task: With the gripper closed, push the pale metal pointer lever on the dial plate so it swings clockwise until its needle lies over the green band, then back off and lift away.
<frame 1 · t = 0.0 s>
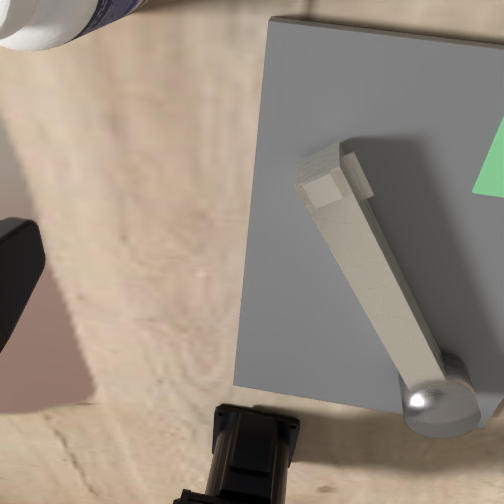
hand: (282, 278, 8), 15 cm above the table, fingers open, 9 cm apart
dial plate: (401, 266, 25), on the table
pointer: (393, 312, 23), point 3 cm above the table, hinge at 35.0°
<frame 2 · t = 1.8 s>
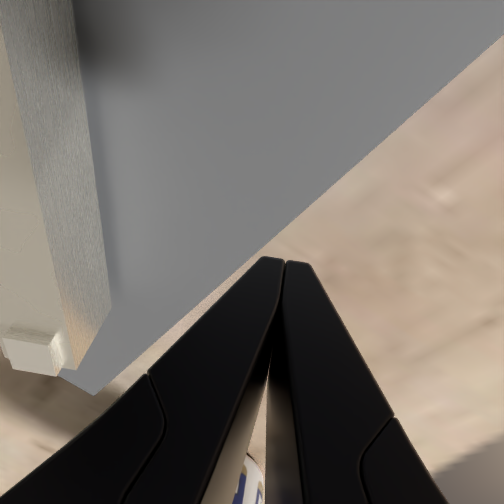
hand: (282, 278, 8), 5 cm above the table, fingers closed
pill bottle: (209, 463, 22), on the table
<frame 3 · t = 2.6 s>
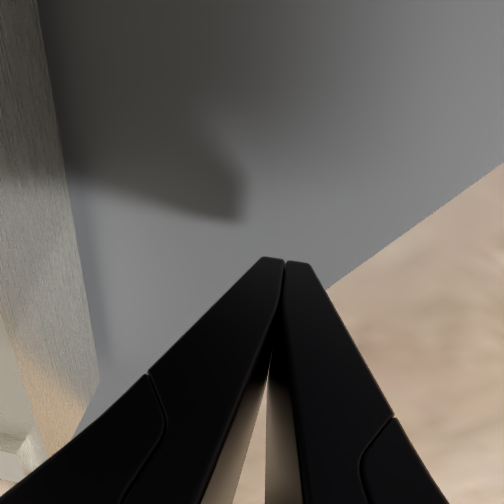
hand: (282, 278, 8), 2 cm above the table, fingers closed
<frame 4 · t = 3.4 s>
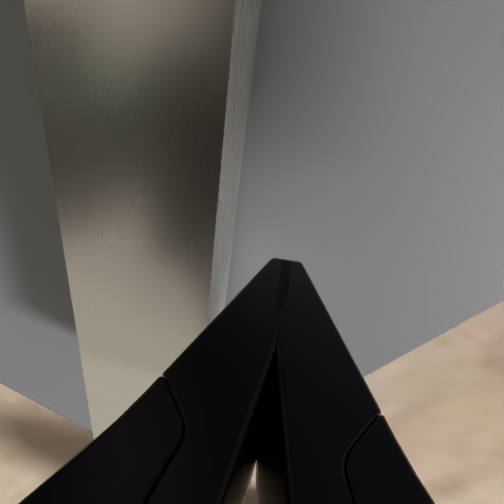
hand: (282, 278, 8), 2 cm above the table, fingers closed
pointer: (158, 9, 5), point 3 cm above the table, hinge at 33.4°, touching gripper
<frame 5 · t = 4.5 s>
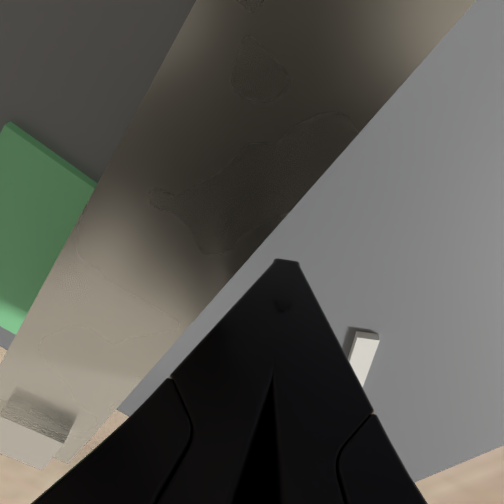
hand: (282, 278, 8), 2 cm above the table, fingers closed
dial plate: (446, 76, 8), on the table
pointer: (316, 5, 5), point 3 cm above the table, hinge at 5.8°, touching gripper
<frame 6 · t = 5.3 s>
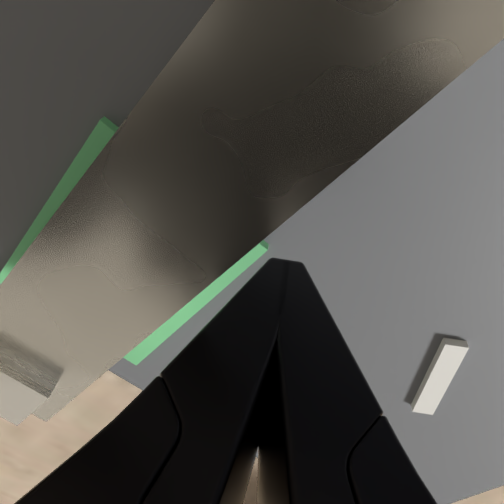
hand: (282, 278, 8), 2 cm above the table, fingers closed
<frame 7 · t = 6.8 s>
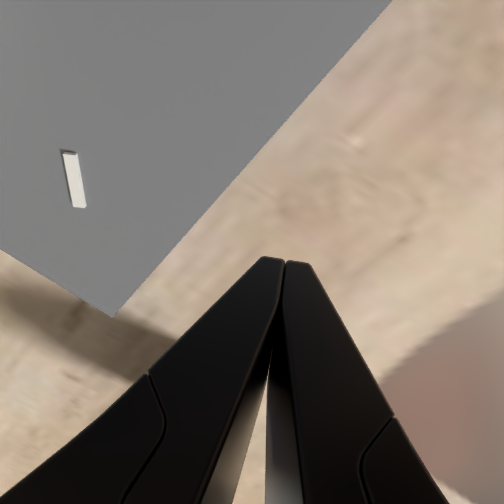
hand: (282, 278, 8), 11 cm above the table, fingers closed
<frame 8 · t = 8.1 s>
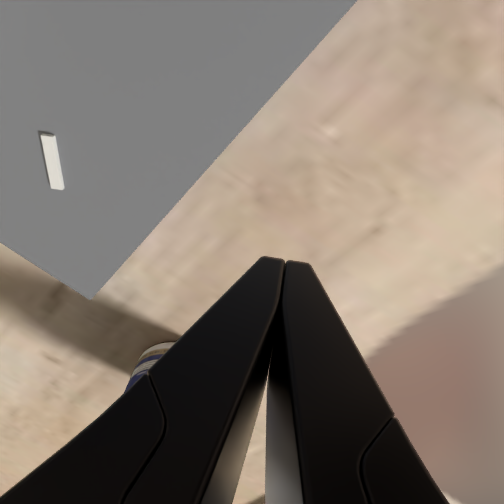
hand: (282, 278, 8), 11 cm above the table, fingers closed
pill bottle: (183, 367, 28), on the table
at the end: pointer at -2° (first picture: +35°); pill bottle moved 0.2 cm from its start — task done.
